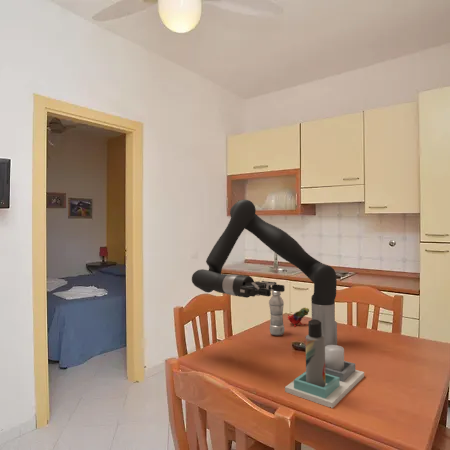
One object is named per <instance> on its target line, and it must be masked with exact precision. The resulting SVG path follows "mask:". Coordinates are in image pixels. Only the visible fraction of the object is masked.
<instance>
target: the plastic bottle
mask: <svg viewBox="0 0 450 450" xmlns="http://www.w3.org/2000/svg"><path fill="white" fill-rule="evenodd" d="M281 293H282V292H279V291H271V295H272V296H271V297H270V298H269V300H268V305H269V306H268V307H269V313H270V322H269V333H270V334H271V335H272V336H283V335H284V333H285V324H284V304H285V303H284V299H283V298H282V297H281Z"/></svg>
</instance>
